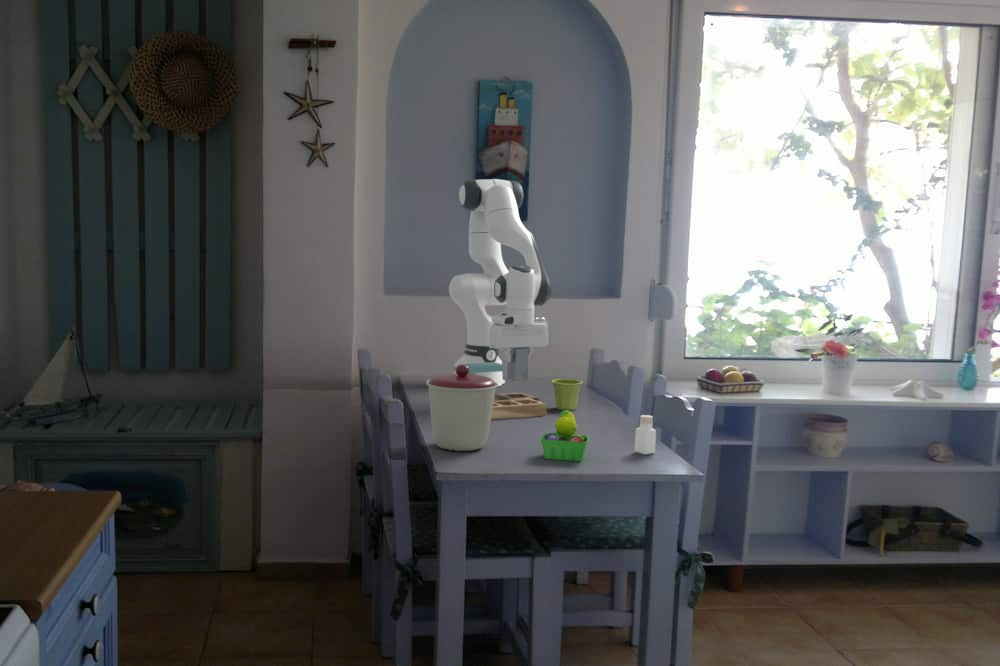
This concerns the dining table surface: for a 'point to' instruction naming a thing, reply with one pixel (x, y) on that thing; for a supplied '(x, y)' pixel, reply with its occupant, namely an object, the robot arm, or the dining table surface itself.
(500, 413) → the rack
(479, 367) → the plate
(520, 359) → the grey rectangular block
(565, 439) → the fruit basket
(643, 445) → the salt shaker
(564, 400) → the plant pot
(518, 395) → the socket frame
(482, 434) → the canister
